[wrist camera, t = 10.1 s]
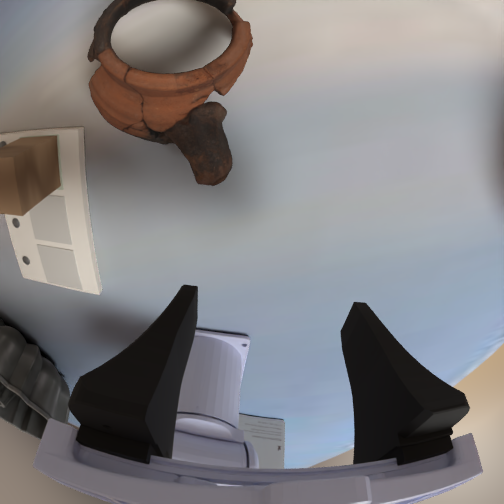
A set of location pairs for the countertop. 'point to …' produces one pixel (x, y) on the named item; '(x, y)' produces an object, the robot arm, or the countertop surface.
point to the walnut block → (28, 173)
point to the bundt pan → (29, 385)
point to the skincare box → (265, 439)
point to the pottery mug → (171, 94)
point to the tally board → (58, 221)
